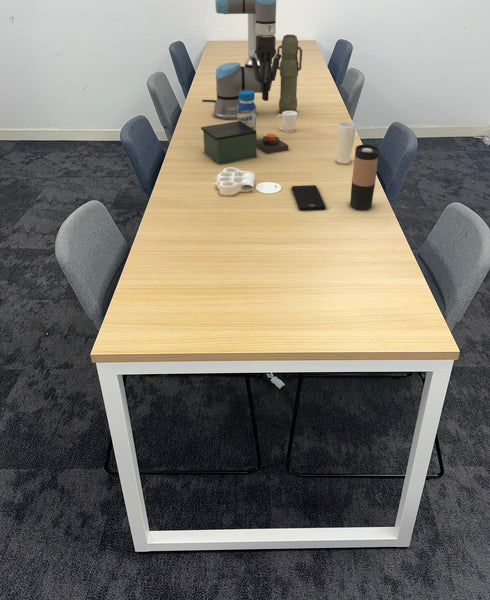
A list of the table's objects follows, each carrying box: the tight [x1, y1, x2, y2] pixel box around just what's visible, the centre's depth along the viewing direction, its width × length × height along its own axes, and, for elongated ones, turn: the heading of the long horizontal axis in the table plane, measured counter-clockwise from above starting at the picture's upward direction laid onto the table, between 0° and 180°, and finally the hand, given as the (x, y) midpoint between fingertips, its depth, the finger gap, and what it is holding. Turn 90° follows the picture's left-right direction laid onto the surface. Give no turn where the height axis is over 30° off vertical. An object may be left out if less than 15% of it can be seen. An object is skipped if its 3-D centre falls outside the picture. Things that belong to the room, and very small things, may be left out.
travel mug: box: [349, 144, 380, 211], centre depth 181 cm, size 8×8×20 cm
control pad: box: [256, 135, 289, 155], centre depth 231 cm, size 12×10×4 cm
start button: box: [265, 133, 277, 140], centre depth 230 cm, size 4×4×2 cm
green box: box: [202, 130, 257, 165], centre depth 222 cm, size 17×15×10 cm
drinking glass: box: [336, 121, 356, 165], centre depth 216 cm, size 7×7×15 cm
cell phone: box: [291, 184, 327, 211], centre depth 191 cm, size 9×18×1 cm, turn 7°
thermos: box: [276, 34, 304, 114], centre depth 264 cm, size 9×12×35 cm
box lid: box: [200, 120, 257, 140], centre depth 219 cm, size 18×15×1 cm
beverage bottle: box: [237, 90, 258, 132], centre depth 236 cm, size 8×8×20 cm
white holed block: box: [213, 166, 256, 197], centre depth 199 cm, size 3×18×15 cm
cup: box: [274, 111, 299, 133], centre depth 249 cm, size 7×10×8 cm
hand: (265, 99), depth 220 cm, fingers closed
